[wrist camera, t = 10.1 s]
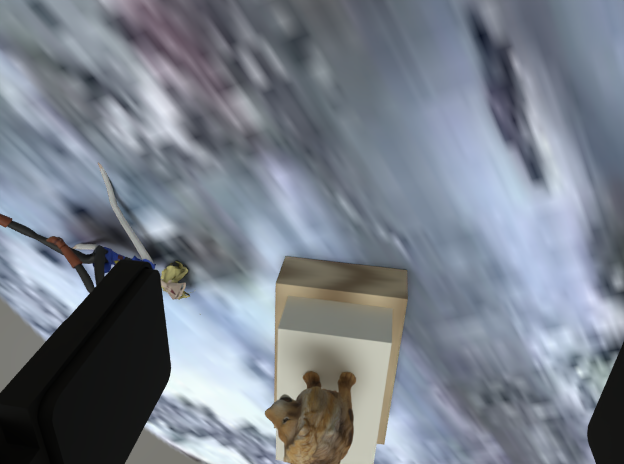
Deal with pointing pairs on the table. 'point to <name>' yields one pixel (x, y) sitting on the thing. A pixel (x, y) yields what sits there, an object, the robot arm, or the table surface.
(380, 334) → the cream brick
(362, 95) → the table surface
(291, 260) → the oak base brick
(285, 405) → the lion figurine
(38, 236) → the figurine
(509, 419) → the table surface
